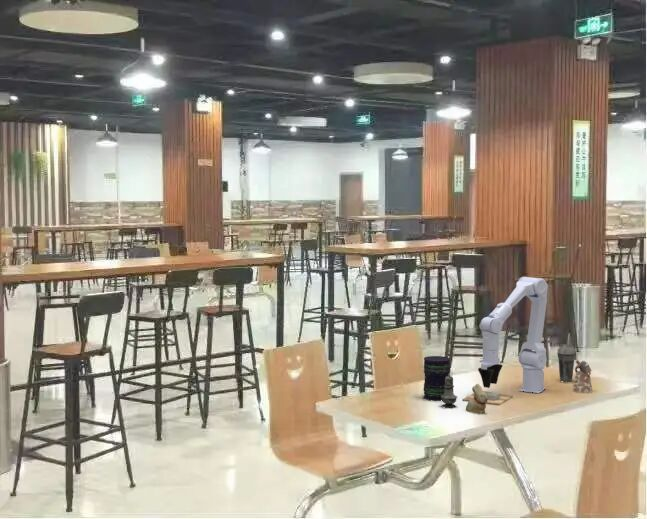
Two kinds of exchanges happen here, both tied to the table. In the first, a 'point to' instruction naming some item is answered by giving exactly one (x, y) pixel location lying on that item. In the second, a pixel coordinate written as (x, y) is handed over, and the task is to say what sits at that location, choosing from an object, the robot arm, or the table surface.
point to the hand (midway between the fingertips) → (490, 385)
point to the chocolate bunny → (477, 401)
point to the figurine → (582, 378)
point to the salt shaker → (449, 393)
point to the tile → (492, 395)
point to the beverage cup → (566, 361)
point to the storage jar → (435, 376)
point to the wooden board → (493, 402)
